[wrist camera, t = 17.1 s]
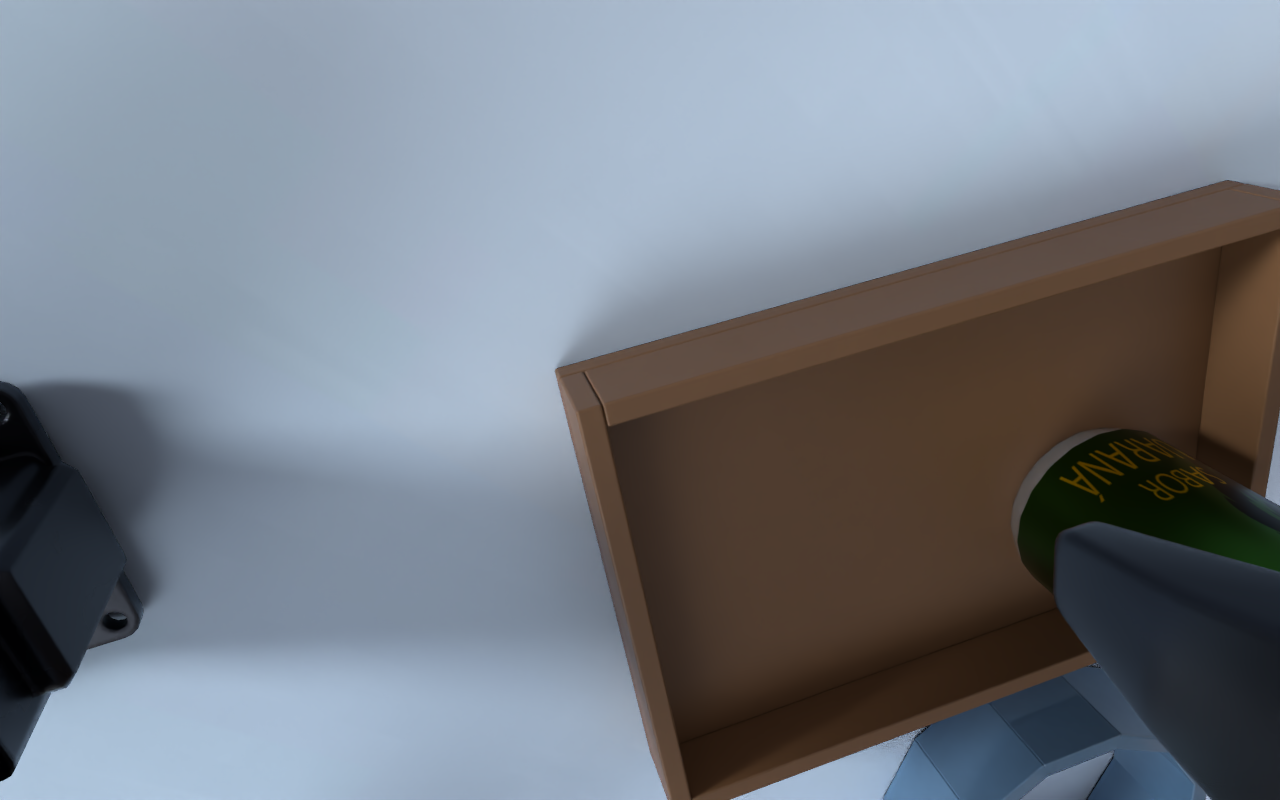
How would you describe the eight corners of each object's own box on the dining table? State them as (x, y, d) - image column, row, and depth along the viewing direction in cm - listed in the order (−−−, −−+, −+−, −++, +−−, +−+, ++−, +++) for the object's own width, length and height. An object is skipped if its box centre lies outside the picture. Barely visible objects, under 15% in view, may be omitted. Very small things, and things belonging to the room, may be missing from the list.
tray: (649, 751, 27) (675, 820, 25) (554, 367, 21) (575, 412, 19) (1181, 561, 30) (1247, 606, 28) (1227, 179, 24) (1316, 197, 22)
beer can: (1151, 539, 28) (1612, 858, 18) (1003, 596, 28) (1393, 965, 17) (1159, 394, 26) (1700, 664, 15) (998, 452, 25) (1449, 779, 15)
